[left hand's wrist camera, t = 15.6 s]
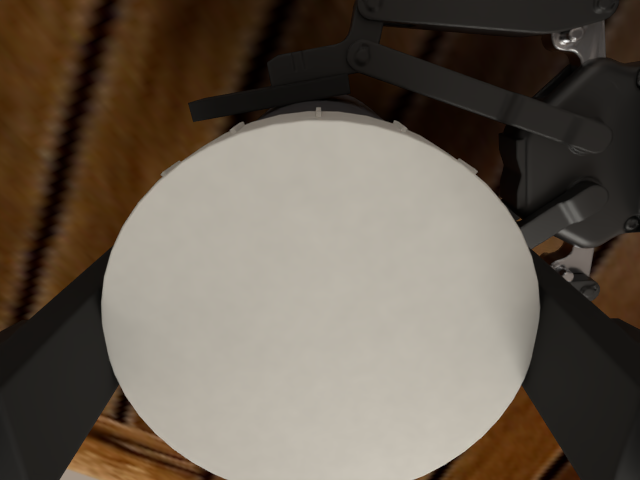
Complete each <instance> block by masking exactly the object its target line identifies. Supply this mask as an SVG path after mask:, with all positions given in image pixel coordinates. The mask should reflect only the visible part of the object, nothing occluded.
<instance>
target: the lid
mask: <svg viewBox="0 0 640 480" xmlns="http://www.w3.org/2000/svg"><path fill="white" fill-rule="evenodd" d="M477 172H478V171H477V170H475V169H474V168H473V167H471V166H470V165H468V164H467V163H465V162H464V161H462V160H461V159H458V160H457V159H455V158H454V157H452V156H451V155H449V154H448V153H447V152H445V151H444V150H442V149H441V148H439V147H437V146H436V145H434V144H433V143H431V142H430V141H428V140H426V139H425V138H423V137H422V136H420V135H418V134H416V133H413V132H411V131H409V130H407V128H406V127H405V126H404V125H402V124H401V123H399V122H398V121H395V120H394V122H393V123H389V122H386V121H383V120H379V119H376V118H372V117H369V116H364V115H358V114H351V113H344V112H331V111H321V107H316V111H306V112H298V113H290V114H282V115H277V116H273V117H269V118H266V119H262V120H258V121H254V122H251V123H249V124H246V125H245V124H244V122H241V123H239V124H237V125H236V126H235V127H233V128H232V129H230V132H227V133H225V134H223V135H222V136H220V137H218V138H217V139H215V140H213V141H212V142H210V143H208V144H207V145H205V146H203V147H202V148H200V149H199V150H197V151H196V152H195V153H193V154H192V155H190V156H189V157H187V158H186V159H185V160H183V161H182V162H180V161H178V162H177V163H175V164H174V165H172V166H171V167H170V168H168V169H167V170H165V171H164V172H163V173H162V174H161V175H162V176H163V177H162V178H161V179H160V180H158V182H157V183H156V184H155V185H154V186H153V187H152V188H151V189H150V190H149V191H148V193H147V194H146V195H145V196H144V197H143V198H142V199H141V200H140V201H139V202H138V204H137V205H136V207H135V208H134V210H133V211H132V213H131V214H130V216H129V217H128V219H127V220H126V222H125V223H124V225H123V227H122V229H121V231H120V233H119V235H118V237H117V240H116V242H115V244H114V246H113V248H112V250H111V254H110V257H109V261H108V264H107V268H106V271H105V275H104V282H103V290H102V299H101V313H102V326H103V331H104V336H105V341H106V346H107V351H108V355H109V359H110V363H111V365H112V368H113V371H114V374H115V376H116V378H117V380H118V382H119V384H120V386H121V388H122V390H123V392H124V394H125V396H126V397H127V398H128V400H129V401H130V403H131V404H132V406H133V407H134V409H135V410H136V411H137V413H138V414H139V416H140V417H141V418H142V419H143V420H144V421H145V422H146V423H147V425H148V426H149V427H150V428H151V429H152V430H153V431H154V432H155V433H156V434H157V435H158V436H159V437H160V438H161V439H163V440H164V441H165V442H166V443H167V444H168V445H169V446H171V447H172V448H173V449H174V450H176V451H177V452H178V453H180V454H181V455H183V456H184V457H186V458H187V459H189V460H190V461H191V462H193V463H195V464H197V465H198V466H200V467H202V468H204V469H206V470H208V471H209V472H211V473H213V474H215V475H218V476H220V477H223V478H225V479H227V480H414V479H416V478H419V477H421V476H424V475H425V474H427V473H429V472H431V471H433V470H435V469H437V468H439V467H441V466H443V465H445V464H446V463H448V462H449V461H451V460H452V459H454V458H455V457H457V456H458V455H460V454H461V453H463V452H464V451H465V450H467V449H468V448H469V447H470V446H471V445H473V444H474V443H475V442H476V441H477V440H479V439H480V438H481V437H482V436H483V435H484V434H485V433H486V432H487V431H488V430H489V429H490V428H491V427H492V426H493V425H494V424H495V423H496V421H497V420H498V419H499V418H500V417H501V415H502V414H503V413H504V411H505V410H506V409H507V407H508V406H509V404H510V403H511V402H512V400H513V399H514V397H515V395H516V393H517V391H518V390H519V388H520V386H521V384H522V382H523V381H524V379H525V376H526V373H527V371H528V368H529V366H530V362H531V358H532V353H533V348H534V344H535V339H536V334H537V329H538V324H539V317H540V299H539V287H538V279H537V275H536V271H535V267H534V263H533V259H532V255H531V253H530V251H529V248H528V246H527V244H526V241H525V239H524V236H523V234H522V232H521V230H520V228H519V227H518V225H517V223H516V222H515V220H514V219H513V217H512V215H511V214H510V212H509V211H508V209H507V207H506V206H505V205H504V204H503V203H502V201H501V200H500V199H499V198H498V197H497V196H496V194H495V193H494V192H493V191H492V190H491V189H490V187H489V186H488V185H487V184H486V183H485V182H483V181H482V180H481V179H480V178H479V177H478V176H476V175H475V174H476V173H477Z"/></svg>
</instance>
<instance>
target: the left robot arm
mask: <svg viewBox="0 0 640 480" xmlns="http://www.w3.org/2000/svg"><path fill="white" fill-rule="evenodd" d="M113 246H114V245H113ZM113 246H112V247H111V248H110V249H109V250H108V251H107V252H105V253H104V254H103V255H102V256H101V257H100V258H99V259H98V260H96V261H95V262H94V263H93V264H92V265H91V266H90V267H88V268H87V269H86V270H85V271H84V272H83V273H82V274H80V275H79V276H78V277H77V278H76V279H75V280H74V281H73V282H71V283H70V284H69V285H68V286H67V287H66V288H65V289H63V290H62V291H61V292H60V293H59V294H58V295H57V296H55V297H54V298H53V299H52V300H51V301H50V302H49V303H48V304H46V305H45V306H44V307H43V308H42V309H41V310H40V311H38V312H37V313H36V314H35V315H34V316H33V317H32V318H30V319H29V320H22V321H20V322H18V323H16V324H14V325H12V326H10V327H8V328H6V329H4V330H2V331H1V332H0V480H60V478H61V476H62V475H63V473H64V472H65V470H66V468H67V467H68V465H69V464H70V462H71V460H72V459H73V457H74V456H75V454H76V453H77V451H78V449H79V448H80V446H81V445H82V443H83V441H84V440H85V438H86V437H87V435H88V433H89V432H90V430H91V429H92V427H93V425H94V424H95V422H96V421H97V419H98V417H99V416H100V414H101V413H102V411H103V409H104V408H105V406H106V405H107V403H108V401H109V400H110V398H111V397H112V395H113V393H114V392H115V390H116V389H117V387H118V385H119V382H118V380H117V378H116V376H115V374H114V371H113V368H112V365H111V363H110V359H109V355H108V351H107V346H106V341H105V336H104V331H103V326H102V313H101V299H102V290H103V282H104V275H105V271H106V268H107V264H108V261H109V257H110V254H111V250H112V248H113ZM528 248H529V247H528ZM529 251H530V253H531V255H532V259H533V263H534V267H535V271H536V275H537V279H538V287H539V299H540V317H539V324H538V329H537V334H536V339H535V344H534V348H533V353H532V358H531V362H530V366H529V368H528V371H527V373H526V376H525V379H524V381H523V382H522V384H521V385H522V386H523V388H524V389H525V391H526V393H527V394H528V396H529V397H530V399H531V401H532V402H533V404H534V405H535V407H536V409H537V410H538V412H539V413H540V415H541V417H542V418H543V420H544V421H545V423H546V425H547V426H548V428H549V429H550V431H551V433H552V434H553V436H554V437H555V439H556V441H557V442H558V444H559V445H560V447H561V449H562V450H563V452H564V453H565V455H566V457H567V458H568V460H569V461H570V463H571V465H572V466H573V468H574V469H575V471H576V472H577V474H578V476H579V477H580V479H581V480H640V329H638V328H636V327H634V326H632V325H630V324H628V323H626V322H624V321H622V320H620V319H618V318H609V317H608V316H607V315H606V314H604V313H603V312H602V311H601V310H600V309H599V308H598V307H596V306H595V305H594V304H593V303H592V302H591V301H590V300H588V299H587V298H586V297H585V296H584V295H583V294H582V293H581V292H579V291H578V290H577V289H576V288H575V287H574V286H573V285H571V284H570V283H569V282H568V281H567V280H566V279H565V278H563V277H562V276H561V275H560V274H559V273H558V272H557V271H555V270H554V269H553V268H552V267H551V266H550V265H549V264H548V263H546V262H545V261H544V260H543V259H542V258H541V257H540V256H538V255H537V254H536V253H535V252H534V251H533V250H532V249H530V248H529Z"/></svg>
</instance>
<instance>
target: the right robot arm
mask: <svg viewBox="0 0 640 480" xmlns="http://www.w3.org/2000/svg"><path fill="white" fill-rule="evenodd" d="M618 4H619V0H356V1H355V3H354V6H353V13H352V19H351V24H350V29H349V33H348V35H347V37H346V38H345V40H344V41H342V42H340V43H338V44H335V45H330V46H324V47H319V48H314V49H308V50H303V51H298V52H292V53H287V54H281V55H277V56H276V57H274V58H273V59H272V60H270V61H269V62H267V66H268V71H269V76H270V81H271V86H269V87H263V88H258V89H252V90H247V91H241V92H236V93H230V94H225V95H219V96H214V97H208V98H203V99H200V100H197V101H193V102H190V103H188V104H189V108H190V111H191V115H192V119H193V122H195V121H201V120H207V119H212V118H218V117H223V116H229V115H234V114H240V113H246V112H251V111H257V110H262V109H268V108H273V107H279V106H285V105H290V104H296V103H301V102H307V101H313V100H318V99H324V98H329V97H335V96H340V95H346V94H350V87H349V79H348V75H349V74H354V73H361V74H364V75H367V76H370V77H373V78H375V79H378V80H381V81H384V82H387V83H390V84H392V85H395V86H398V87H401V88H404V89H407V90H410V91H412V92H415V93H418V94H421V95H424V96H427V97H430V98H432V99H435V100H438V101H441V102H444V103H447V104H450V105H452V106H455V107H458V108H461V109H464V110H467V111H470V112H472V113H475V114H478V115H481V116H484V117H486V118H489V119H492V120H495V121H498V122H501V123H504V124H506V126H505V129H504V132H503V133H499V151H500V154H501V157H502V160H503V163H504V168H503V172H502V176H501V180H500V197H501V198H503V199H501V201H502V203H503V204H504V205H505V206H506V207H507V209H508V211H509V212H510V214H511V215H512V217H513V219H514V220H515V222H516V223H517V225H518V227H519V228H520V230H521V232H522V234H523V236H524V239H525V241H526V244H527V246H528V247H529V248H530V249H533V248H534V247H536V246H537V245H539V244H541V243H542V242H544V241H545V240H547V239H549V238H550V237H552V236H555V237H557V238H559V239H561V240H563V241H564V242H563V245H562V246H561V247H560V248H559V249H558V250H557V251H555V252H552V253H543V254H541V255H540V257H541V258H542V259H543V260H544V261H545V262H546V263H548V264H549V265H550V266H551V267H552V268H553V269H554V270H555V271H557V272H558V273H559V274H560V275H561V276H562V277H563V278H565V279H566V280H567V281H568V282H569V283H570V284H571V285H573V286H574V287H575V288H576V289H577V290H578V291H579V292H581V293H582V294H583V295H584V296H585V297H586V298H587V299H588V300H590V301H592V300H594V299H595V298H596V297H597V296H598V294H599V292H600V287H599V285H598V283H597V282H595V281H594V280H593V279H591V278H590V277H589V274H590V268H591V263H592V257H593V251H594V247H597V246H600V245H602V244H603V243H605V242H607V241H608V240H610V239H611V238H613V237H615V236H618V235H620V234H623V233H632V232H640V61H637V62H631V63H620V62H618V61H616V60H613V59H611V58H606V49H605V26H604V20H605V19H607V18H609V17H610V16H611V15H612V14H613V13H614V12H615V11H616V9H617V7H618ZM383 26H386V27H398V28H410V29H423V30H435V31H447V32H459V33H471V34H483V35H495V36H507V37H526V36H535V35H541V39H542V43H543V46H544V47H545V48H546V49H547V50H549V51H560V52H563V53H565V54H566V55H567V56H568V58H569V61H570V64H569V65H567V66H566V67H565V68H564V69H563V70H562V71H561V72H560V73H558V74H557V75H556V76H555V77H554V78H553V79H552V80H551V81H550V82H549V83H547V84H546V85H545V86H544V87H543V88H542V89H541V90H540V91H539V92H538V93H537V94H535V95H534V96H533V97H532V98H530V97H527V96H524V95H521V94H518V93H514V92H511V91H508V90H505V89H502V88H499V87H497V86H494V85H491V84H488V83H486V82H483V81H480V80H477V79H474V78H472V77H469V76H466V75H463V74H461V73H458V72H455V71H452V70H449V69H447V68H444V67H441V66H438V65H436V64H433V63H430V62H427V61H424V60H422V59H419V58H416V57H413V56H411V55H408V54H405V53H402V52H399V51H397V50H394V49H391V48H388V47H386V46H383V45H380V44H379V42H380V37H381V33H382V28H383ZM520 218H521V219H522V220H521V221H516V220H518V219H520Z"/></svg>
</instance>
